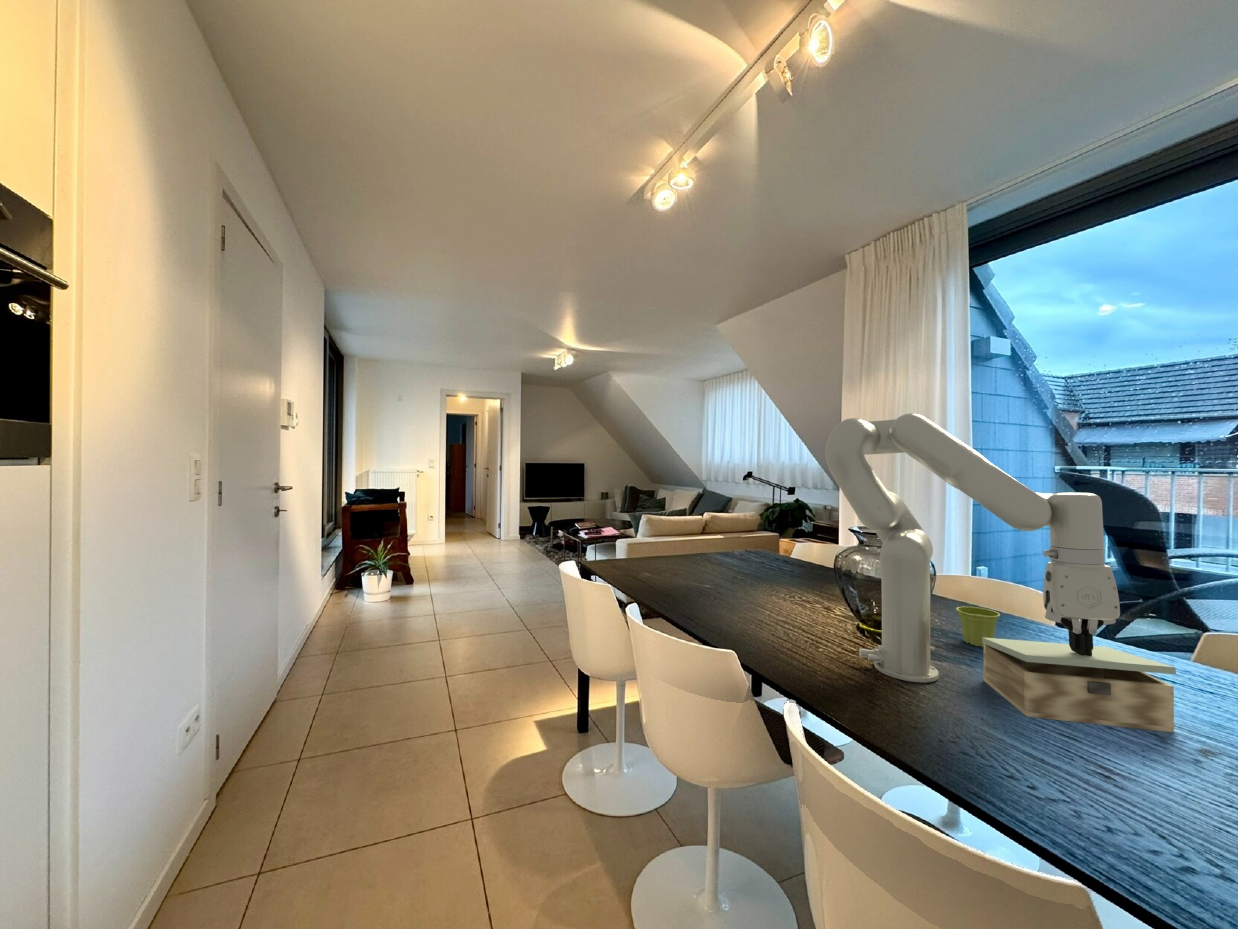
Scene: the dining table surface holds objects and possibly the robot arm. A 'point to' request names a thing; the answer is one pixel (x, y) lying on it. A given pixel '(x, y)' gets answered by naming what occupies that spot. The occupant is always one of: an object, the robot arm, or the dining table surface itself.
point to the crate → (1081, 692)
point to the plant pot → (977, 624)
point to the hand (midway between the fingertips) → (1081, 652)
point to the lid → (1076, 656)
